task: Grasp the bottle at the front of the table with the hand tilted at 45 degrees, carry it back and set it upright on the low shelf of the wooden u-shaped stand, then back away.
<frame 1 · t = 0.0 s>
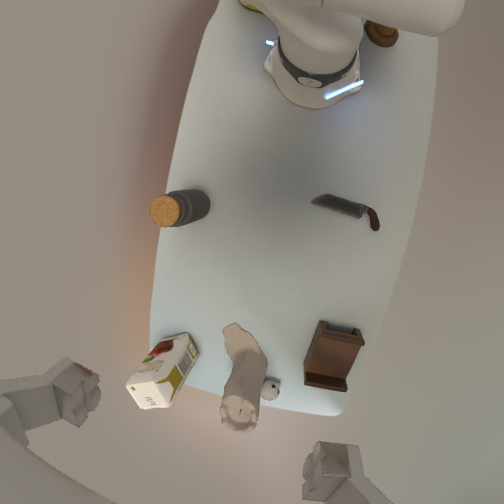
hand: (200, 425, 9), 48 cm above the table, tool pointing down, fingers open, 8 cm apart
bottle: (196, 204, 56), on the table
figurine: (271, 382, 63), on the table
candle: (244, 350, 62), on the table
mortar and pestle: (380, 35, 43), on the table
juice carton: (181, 346, 64), on the table
knife: (346, 210, 53), on the table
wooden u-shaped stand: (331, 347, 59), on the table
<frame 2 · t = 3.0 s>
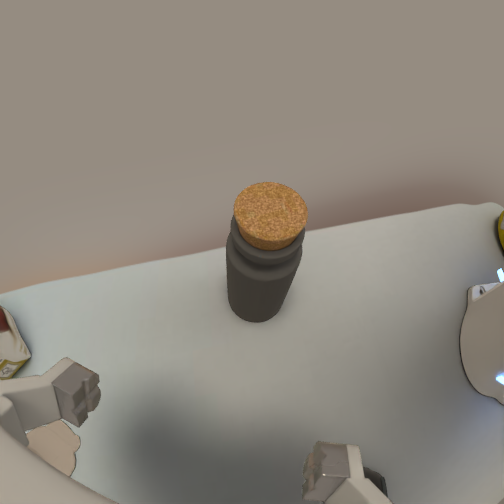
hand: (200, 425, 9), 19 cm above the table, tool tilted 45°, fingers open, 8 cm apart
bottle: (255, 297, 32), on the table
candle: (43, 461, 19), on the table
juice carton: (9, 349, 25), on the table
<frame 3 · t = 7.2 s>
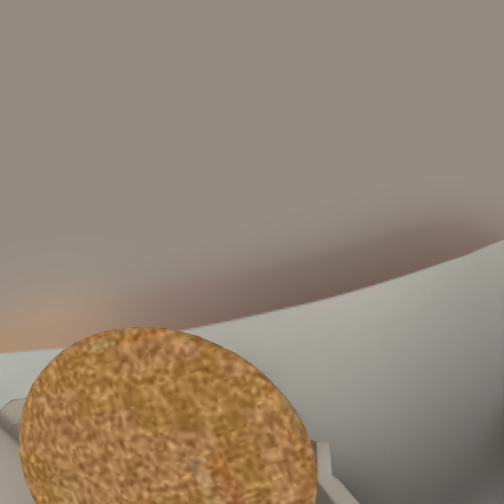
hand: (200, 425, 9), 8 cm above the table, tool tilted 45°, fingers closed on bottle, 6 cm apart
bottle: (211, 428, 16), on the table, touching gripper
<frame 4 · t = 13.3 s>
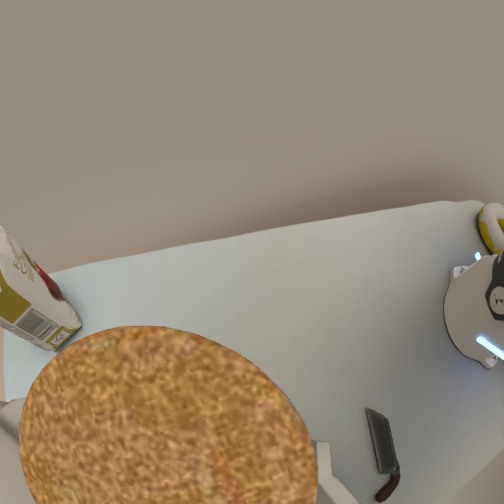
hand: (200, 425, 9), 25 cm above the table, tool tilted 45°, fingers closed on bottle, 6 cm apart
bottle: (211, 427, 16), point 16 cm above the table, touching gripper
donut: (495, 238, 47), on the table
juice carton: (57, 321, 34), on the table
knife: (380, 454, 27), on the table
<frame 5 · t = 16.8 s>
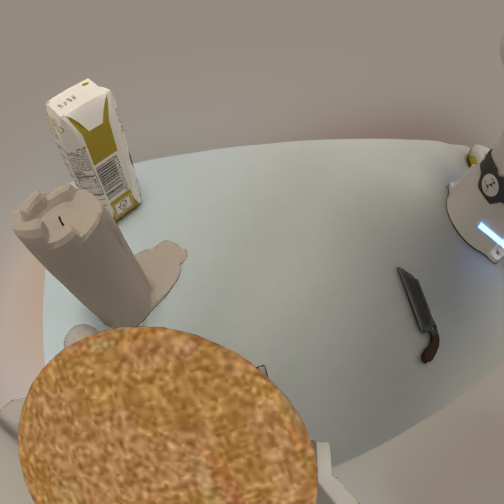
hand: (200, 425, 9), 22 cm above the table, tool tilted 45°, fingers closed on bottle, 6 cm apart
bottle: (211, 428, 16), point 13 cm above the table, touching gripper
figurine: (94, 352, 30), on the table
candle: (142, 283, 35), on the table
donut: (485, 174, 54), on the table
juice carton: (114, 203, 41), on the table
knife: (417, 313, 35), on the table
when the fingers open (13 cm above the table, at t = 19.7 s): bottle stays where it is, resting on wooden u-shaped stand.
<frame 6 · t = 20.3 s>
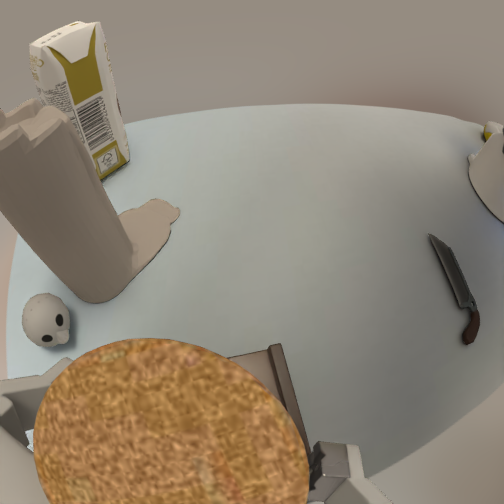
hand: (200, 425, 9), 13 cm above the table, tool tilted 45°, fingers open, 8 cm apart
bottle: (212, 428, 16), point 4 cm above the table, touching wooden u-shaped stand
figurine: (61, 331, 23), on the table
candle: (123, 247, 28), on the table
donut: (501, 152, 47), on the table
juice carton: (100, 163, 34), on the table
knife: (453, 286, 28), on the table
wooden u-shaped stand: (215, 425, 20), on the table
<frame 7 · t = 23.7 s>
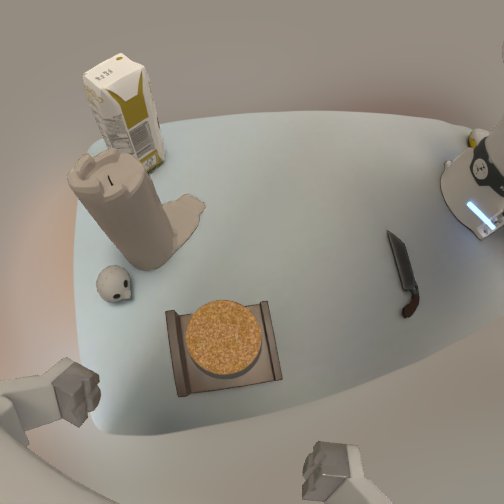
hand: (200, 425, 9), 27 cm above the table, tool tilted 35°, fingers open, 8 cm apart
bottle: (225, 349, 32), point 4 cm above the table, touching wooden u-shaped stand
figurine: (121, 290, 38), on the table
candle: (165, 230, 41), on the table
donut: (484, 157, 56), on the table
juice carton: (140, 160, 46), on the table
knife: (401, 272, 42), on the table
wooden u-shaped stand: (225, 350, 36), on the table
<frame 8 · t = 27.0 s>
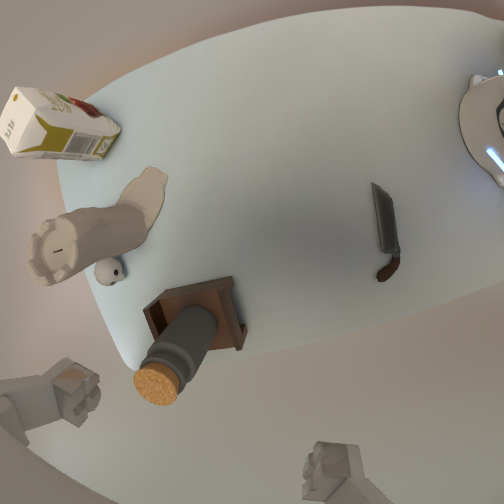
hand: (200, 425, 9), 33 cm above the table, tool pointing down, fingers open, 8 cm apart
bottle: (197, 323, 40), point 4 cm above the table, touching wooden u-shaped stand
figurine: (118, 267, 45), on the table
candle: (138, 208, 42), on the table
juice carton: (100, 134, 41), on the table
knife: (383, 231, 38), on the table
wooden u-shaped stand: (205, 310, 44), on the table
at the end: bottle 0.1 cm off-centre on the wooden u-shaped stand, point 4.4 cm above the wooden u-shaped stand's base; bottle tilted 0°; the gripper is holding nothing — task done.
